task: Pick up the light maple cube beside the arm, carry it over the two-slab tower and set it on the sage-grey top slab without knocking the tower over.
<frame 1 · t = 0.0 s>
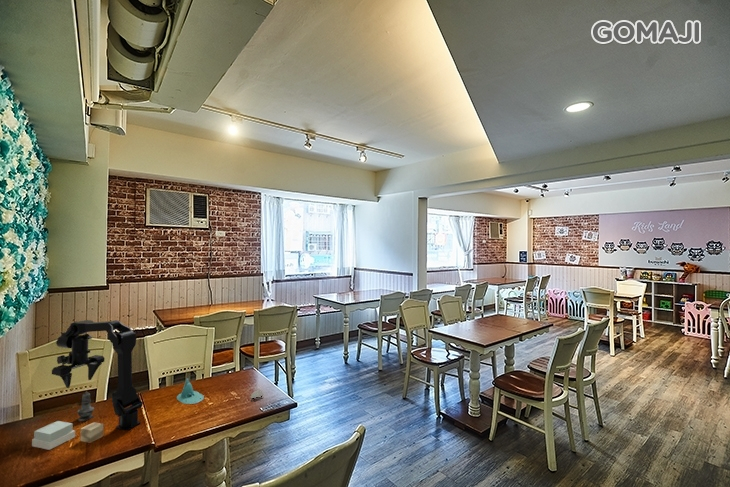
hand: (79, 383, 152), 15 cm above the table, tool pointing down, fingers open, 9 cm apart
tower base block: (54, 442, 133), on the table, touching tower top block
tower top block: (53, 434, 133), point 3 cm above the table, touching tower base block
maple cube: (91, 438, 135), on the table
car cutout: (248, 401, 171), on the table
teal witch hat: (190, 398, 173), on the table
grey stone pagoda: (85, 418, 151), on the table
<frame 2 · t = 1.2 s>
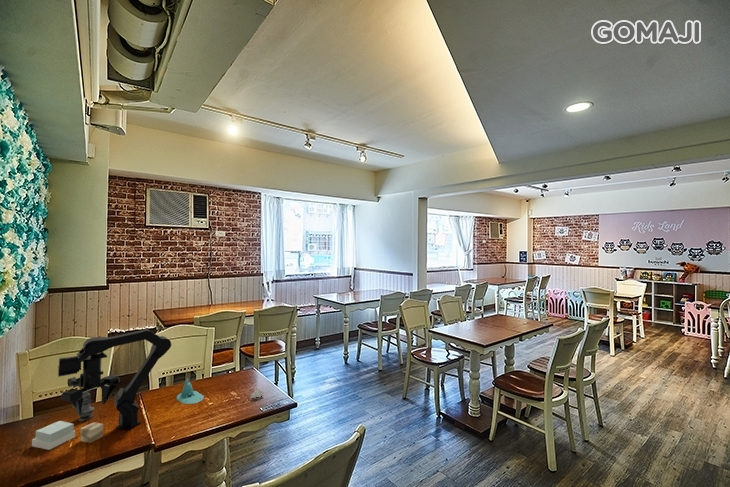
hand: (91, 408, 137), 11 cm above the table, tool pointing down, fingers open, 9 cm apart
nothing on the table moved.
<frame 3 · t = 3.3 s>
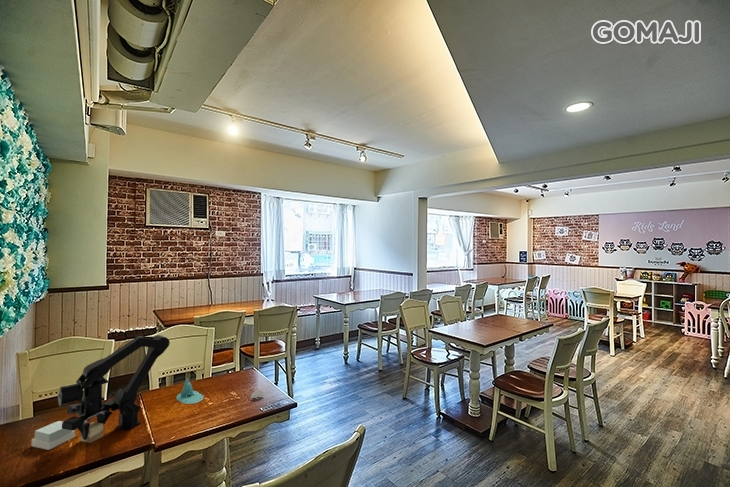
hand: (92, 435, 135), 1 cm above the table, tool pointing down, fingers closed on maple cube, 5 cm apart
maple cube: (91, 438, 135), on the table, touching gripper
everything else where it was.
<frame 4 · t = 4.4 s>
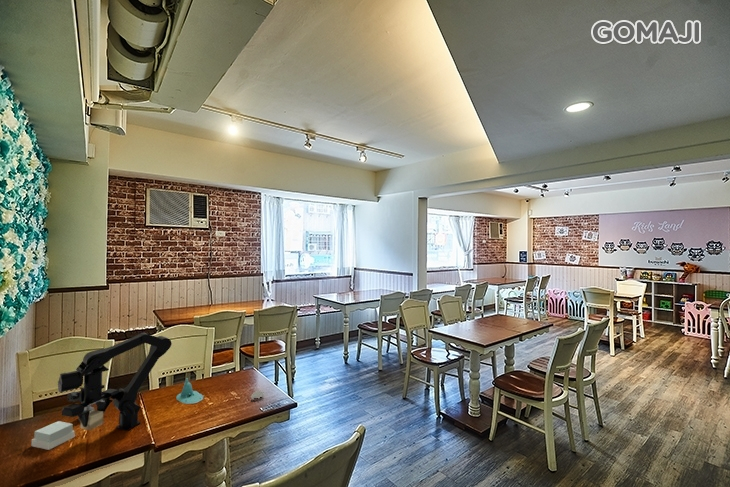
hand: (91, 423, 135), 6 cm above the table, tool pointing down, fingers closed on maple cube, 5 cm apart
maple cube: (91, 426, 135), point 5 cm above the table, touching gripper
everything else where it was.
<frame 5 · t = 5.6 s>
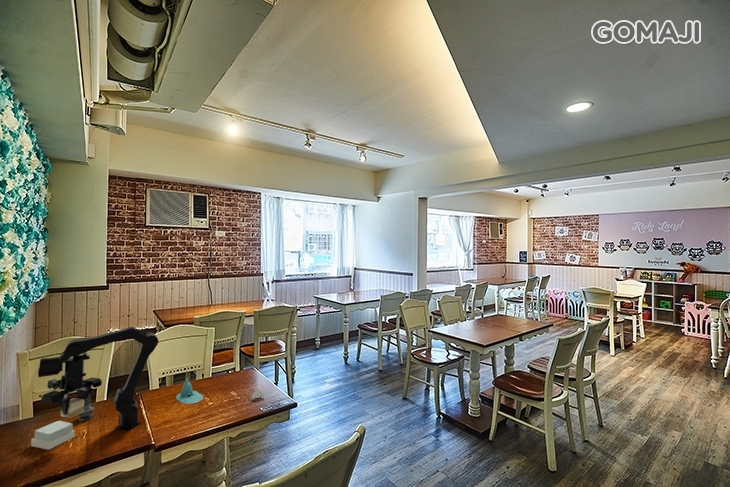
hand: (72, 411, 134), 11 cm above the table, tool pointing down, fingers closed on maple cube, 5 cm apart
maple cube: (72, 414, 134), point 10 cm above the table, touching gripper
everything else where it was.
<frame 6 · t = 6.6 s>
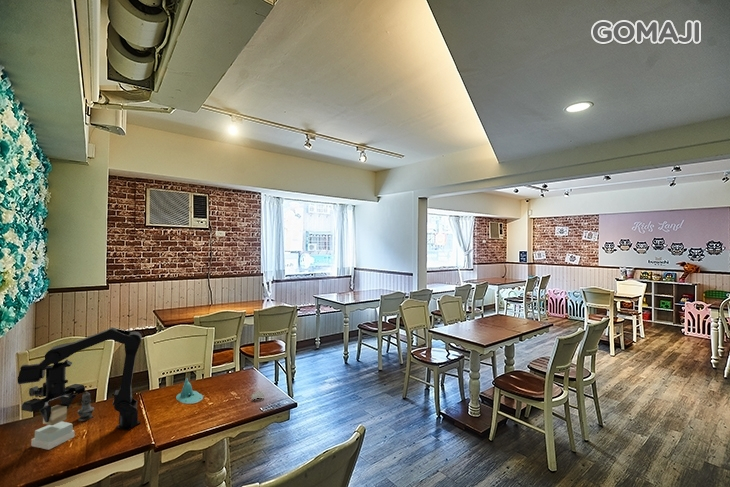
hand: (54, 418, 133), 9 cm above the table, tool pointing down, fingers closed on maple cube, 5 cm apart
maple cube: (54, 421, 133), point 8 cm above the table, touching gripper
everything else where it was.
when the fingers open (8 cm above the table, at t = 7.7 s): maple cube drops 2 cm, resting on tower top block.
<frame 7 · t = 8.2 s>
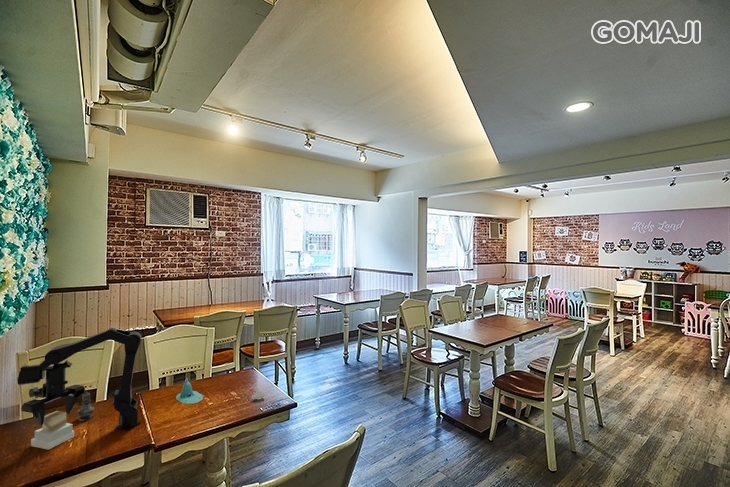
hand: (54, 419, 133), 8 cm above the table, tool pointing down, fingers open, 9 cm apart
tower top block: (53, 435, 133), point 2 cm above the table, touching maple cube, tower base block
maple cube: (54, 427, 133), point 5 cm above the table, touching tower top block
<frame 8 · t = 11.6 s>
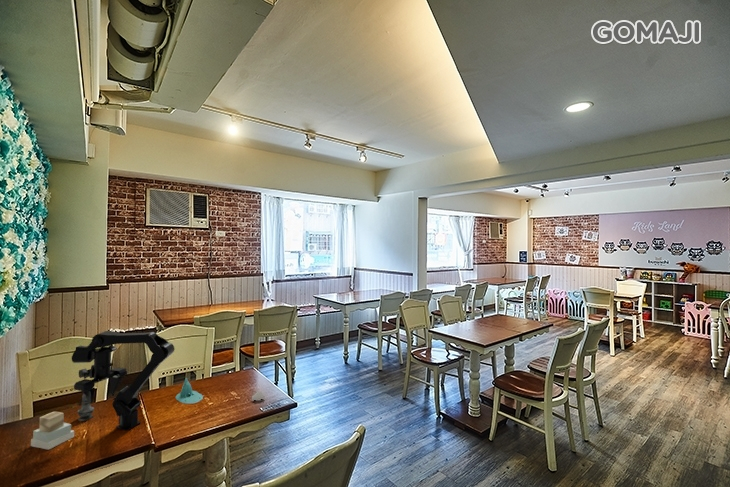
hand: (101, 398, 144), 12 cm above the table, tool pointing down, fingers open, 9 cm apart
at the end: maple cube 0.4 cm off-centre on the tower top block, point 3.0 cm above the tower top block's base; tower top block 0.3 cm off-centre on the tower base block, point 3.0 cm above the tower base block's base; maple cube tilted 1° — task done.
